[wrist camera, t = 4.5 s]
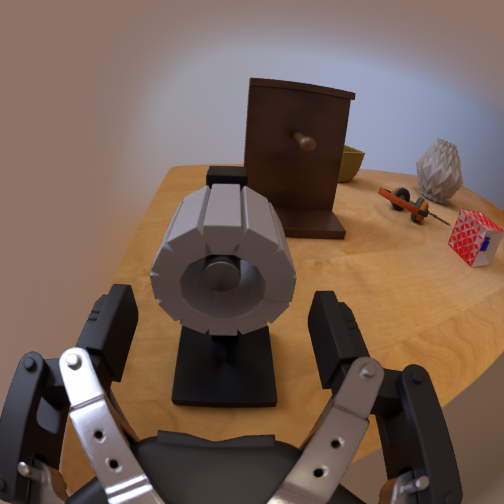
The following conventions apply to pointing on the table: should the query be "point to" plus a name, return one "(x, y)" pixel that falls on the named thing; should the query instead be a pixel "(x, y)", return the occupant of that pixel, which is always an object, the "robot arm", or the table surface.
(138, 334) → the table surface
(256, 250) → the grey faceted tube
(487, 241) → the red patterned cube
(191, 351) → the holder
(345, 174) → the flower pot
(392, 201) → the headphones
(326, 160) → the rack
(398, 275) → the table surface
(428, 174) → the vase
